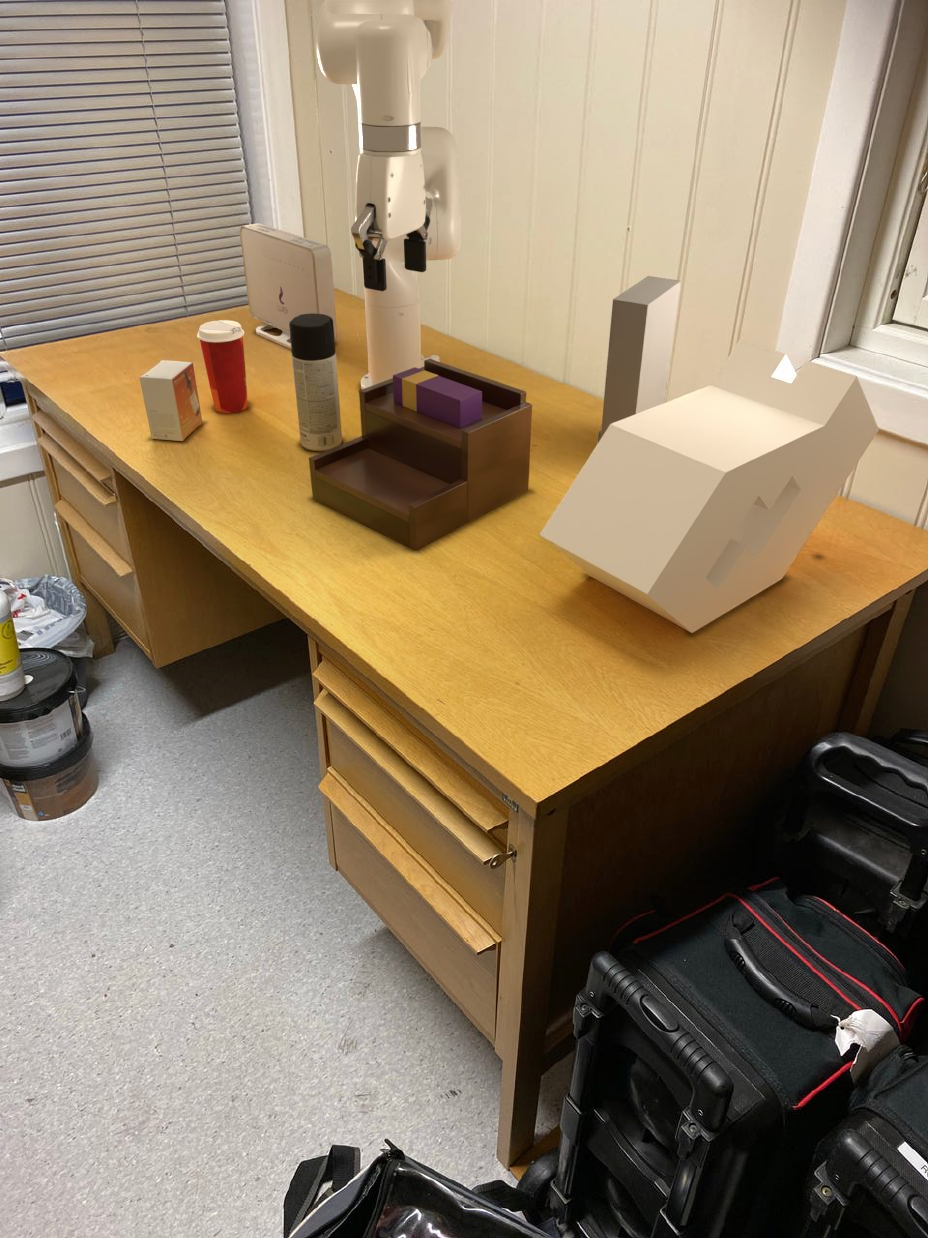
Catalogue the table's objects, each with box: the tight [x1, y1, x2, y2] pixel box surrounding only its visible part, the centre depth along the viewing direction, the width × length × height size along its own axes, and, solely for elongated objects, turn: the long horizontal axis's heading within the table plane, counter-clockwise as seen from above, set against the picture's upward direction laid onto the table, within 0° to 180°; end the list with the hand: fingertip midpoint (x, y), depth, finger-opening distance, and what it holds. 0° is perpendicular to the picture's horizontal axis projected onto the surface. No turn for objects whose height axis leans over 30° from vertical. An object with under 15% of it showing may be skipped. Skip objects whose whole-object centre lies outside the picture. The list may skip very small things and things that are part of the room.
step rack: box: [308, 359, 533, 551], centre depth 135 cm, size 23×21×15 cm
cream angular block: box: [539, 339, 880, 634], centre depth 116 cm, size 26×16×35 cm
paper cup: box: [196, 319, 249, 414], centre depth 162 cm, size 8×8×14 cm
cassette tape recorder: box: [596, 275, 682, 445], centre depth 145 cm, size 14×6×25 cm, turn 150°
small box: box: [139, 359, 203, 442], centre depth 154 cm, size 8×6×10 cm
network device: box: [239, 222, 338, 350], centre depth 189 cm, size 26×9×20 cm, turn 43°
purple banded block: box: [393, 367, 482, 428], centre depth 133 cm, size 4×13×4 cm, turn 47°
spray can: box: [289, 313, 343, 452], centre depth 148 cm, size 7×7×20 cm
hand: (396, 279), depth 128 cm, fingers open, 9 cm apart
